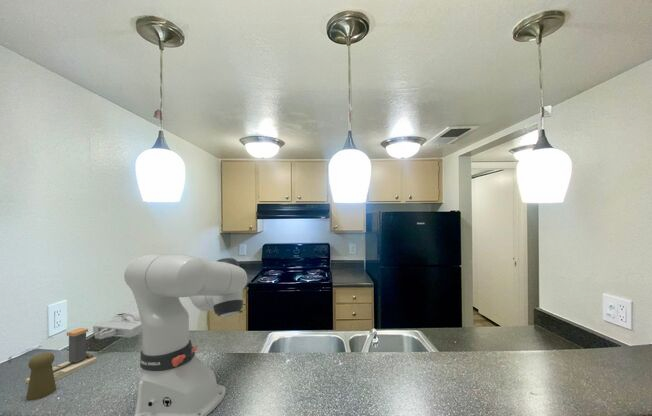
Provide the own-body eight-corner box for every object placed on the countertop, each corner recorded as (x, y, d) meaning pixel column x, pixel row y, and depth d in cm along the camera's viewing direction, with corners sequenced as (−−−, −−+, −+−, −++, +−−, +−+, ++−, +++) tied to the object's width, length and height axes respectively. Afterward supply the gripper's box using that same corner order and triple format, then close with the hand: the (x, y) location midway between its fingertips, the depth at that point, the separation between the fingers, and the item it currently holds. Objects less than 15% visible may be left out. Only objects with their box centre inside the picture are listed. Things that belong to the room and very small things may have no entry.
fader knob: (88, 357, 96) (88, 328, 96) (75, 363, 92) (75, 333, 92) (80, 356, 97) (80, 327, 97) (66, 362, 93) (66, 332, 93)
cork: (36, 401, 75) (36, 360, 76) (20, 399, 76) (20, 359, 77) (61, 388, 81) (61, 350, 81) (46, 386, 82) (46, 349, 83)
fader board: (97, 361, 97) (97, 354, 97) (43, 386, 82) (43, 379, 82) (80, 358, 99) (80, 352, 99) (25, 383, 84) (25, 375, 84)
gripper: (152, 332, 112) (119, 347, 98) (115, 328, 117) (78, 343, 104) (152, 316, 112) (118, 330, 99) (114, 313, 117) (78, 326, 104)
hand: (97, 336), depth 101 cm, fingers closed
